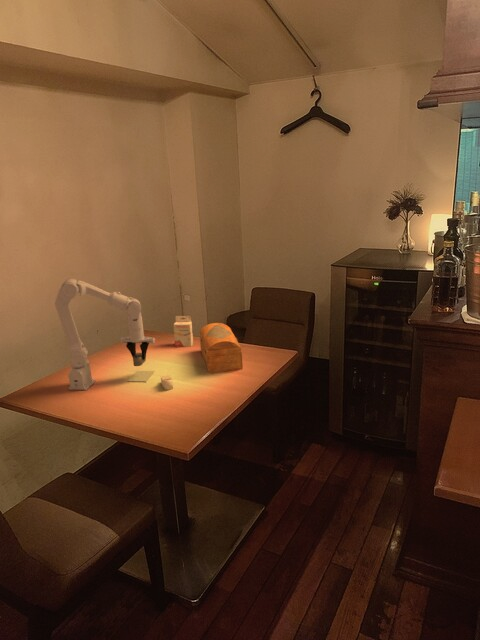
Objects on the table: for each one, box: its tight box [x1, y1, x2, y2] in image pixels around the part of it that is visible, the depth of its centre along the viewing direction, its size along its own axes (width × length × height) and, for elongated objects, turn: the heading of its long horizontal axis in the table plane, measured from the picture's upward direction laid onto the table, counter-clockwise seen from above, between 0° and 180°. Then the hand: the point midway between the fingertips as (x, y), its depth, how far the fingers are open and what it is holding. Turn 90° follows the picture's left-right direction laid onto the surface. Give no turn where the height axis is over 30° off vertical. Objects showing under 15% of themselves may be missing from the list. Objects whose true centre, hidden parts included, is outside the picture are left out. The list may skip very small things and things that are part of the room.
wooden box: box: [199, 322, 244, 374], centre depth 214 cm, size 30×16×14 cm, turn 10°
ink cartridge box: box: [173, 315, 194, 347], centre depth 236 cm, size 9×5×15 cm, turn 84°
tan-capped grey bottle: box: [132, 352, 147, 367], centre depth 198 cm, size 9×4×4 cm, turn 172°
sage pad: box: [127, 370, 155, 383], centre depth 200 cm, size 11×8×1 cm
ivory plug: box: [160, 374, 174, 391], centre depth 189 cm, size 9×4×4 cm, turn 22°
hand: (139, 358), depth 198 cm, fingers closed on tan-capped grey bottle, 3 cm apart
